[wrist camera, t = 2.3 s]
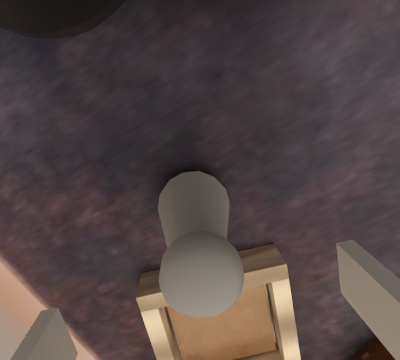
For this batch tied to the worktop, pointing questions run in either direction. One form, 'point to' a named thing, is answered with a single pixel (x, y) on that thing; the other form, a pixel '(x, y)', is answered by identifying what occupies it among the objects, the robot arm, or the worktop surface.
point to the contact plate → (227, 329)
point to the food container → (373, 352)
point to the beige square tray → (253, 276)
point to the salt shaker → (198, 247)
